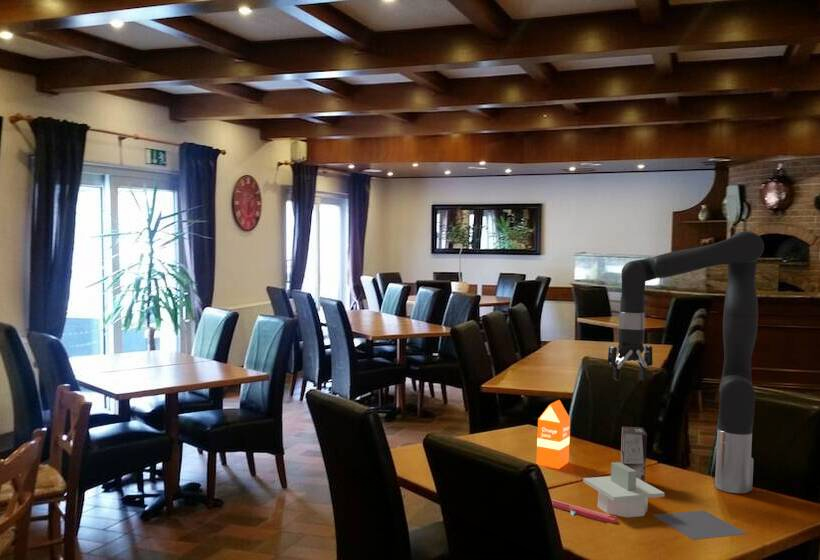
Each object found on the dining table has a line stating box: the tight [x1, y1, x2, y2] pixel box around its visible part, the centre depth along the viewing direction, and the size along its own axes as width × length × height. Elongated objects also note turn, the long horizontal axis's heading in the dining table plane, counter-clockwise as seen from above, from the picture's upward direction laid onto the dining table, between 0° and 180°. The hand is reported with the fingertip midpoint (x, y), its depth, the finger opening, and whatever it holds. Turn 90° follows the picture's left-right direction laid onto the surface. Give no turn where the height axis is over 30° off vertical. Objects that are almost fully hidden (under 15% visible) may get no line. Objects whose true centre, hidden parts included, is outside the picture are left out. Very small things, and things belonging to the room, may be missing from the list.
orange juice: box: [535, 399, 571, 470], centre depth 231 cm, size 8×9×20 cm
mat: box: [652, 509, 748, 541], centre depth 182 cm, size 16×16×1 cm
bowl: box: [597, 491, 649, 518], centre depth 192 cm, size 12×12×6 cm
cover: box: [582, 461, 665, 501], centre depth 192 cm, size 15×15×6 cm
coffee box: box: [620, 426, 648, 482], centre depth 213 cm, size 9×6×16 cm
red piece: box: [552, 499, 618, 524], centre depth 189 cm, size 24×2×5 cm
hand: (629, 380), depth 219 cm, fingers open, 8 cm apart
